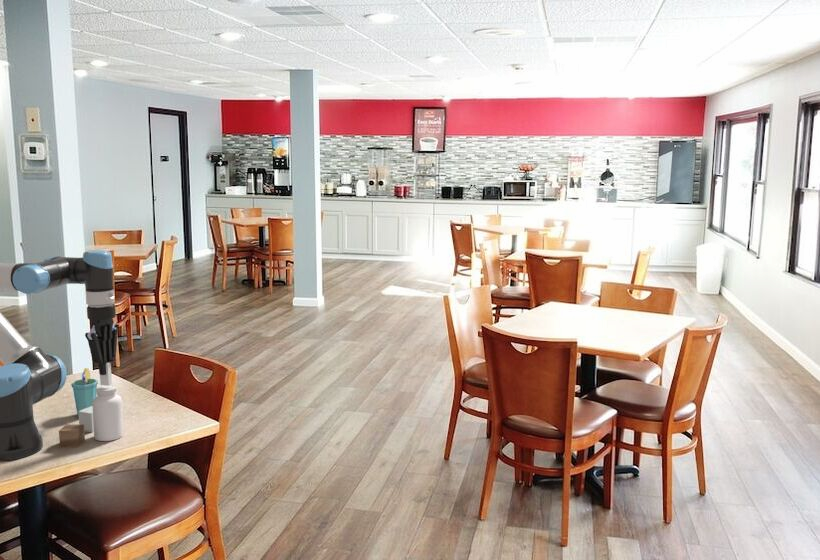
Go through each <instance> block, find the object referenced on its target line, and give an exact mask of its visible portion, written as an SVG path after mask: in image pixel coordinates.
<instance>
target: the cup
mask: <svg viewBox="0 0 820 560" xmlns="http://www.w3.org/2000/svg"><path fill="white" fill-rule="evenodd" d="M81 377H82V379H77V380H75V381H73V382H72V383H71V384H70V385H71V387H72V390H73V391H72V392H73V396H74V402H75V407H76V414H77V416H78V417H79V414H78V411H80V410H83V409H85V408H88V407H90V406H93V404H92V403H93V400H94V398H95V397H97V388H98V384H99V381H98V380H97V379H94V378H91V372H90V369H89V368H87V367H86V368H84V369H83V372H82V375H81Z"/></svg>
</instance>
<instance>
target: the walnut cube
mask: <svg viewBox="0 0 820 560" xmlns="http://www.w3.org/2000/svg"><path fill="white" fill-rule="evenodd" d="M58 436H59V437H58V438H59V448H80V446H81V445H82V444H83V443H84V442H85V441H86V439H85V436H86V435H85V431H84V424H77V423H75V424H73V423H72V424H71V423H70V424H65V425H64V426H62V427H61V428H60V429H59V430H58Z"/></svg>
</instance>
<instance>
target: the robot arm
mask: <svg viewBox="0 0 820 560" xmlns="http://www.w3.org/2000/svg"><path fill="white" fill-rule="evenodd" d="M112 255H113V254H112V253H111V251H109V250H106V249H105V250H104V249H98V250H97V249H95V250H94V249H93V250H86V251H83V254H82V257H70V256H67V257H66V256H54V257H53V256H51V257H47V258H45V259H44V261H41V262H33V263H32V262H26V263H25V262H23V263H21V262H19V263H18V262H16V263H15V262H13V263H11V262H0V292H13V291H14V292H20V293H22V294H25V295H27V294H28V295H30V294H39V293H41V292H43V291H46V290H49V289H53V288H57V287H60V286H61V287H62V286H64V285H73V284H74V285H78V284H79V285H84V286H85V287H84V288H85V303H86V305H87V307H86V316H87V319H88V320H90V331H89V332H86V333H84V336H85V339H86V340H87V342H88V347H89V352H90V355H91V360H92V363H93V364H98V373H99V381H100V382H99V384H100V386H105V385H107V386H109V385H112V384H113V379H112V363H113V362H115V360H116V359H115V358H116V356H117V347H118V346H117V345H118V344H117V343H118V334H119V333H118V332H119V329H120V324H117V323H114V318H116V317H117V311H116V305H115V302H116V299H115V297H116V296H115V286H114V263H113V257H112ZM0 362H1V363H2V364H3V365H0V462H3V461H5V462H6V461H12V460H13V461H14V460H17V459H22V458H25V457H29V456H32V455H34V454H35V453H37V452H39V451H40V450H41V449H43V447H44V443H43V442H44V441H43V437H42V435H41V434H40V432H39V430H38V426H37V425H36V422H35V418H34V405H35V404H37V403H39V402H41V401H43V400H45V399H47V398H50V397H52V396H54V395H55V394H56V393H57V392H59V391H61V390H62V388H63V387H64V386H65V384H66V381H67V367H66V365H65V363H64V362H63V361H62V359H61V358H59V357H58V356H57V355H55V354H54V355H51V354H46V353H45V352H44V351H43V350H42V349H41V347H39V346H34V345H33V346H32V345H31V344H30V343H28V342H27V341H26V339H25V337H23V336H22V335H21V333H19V331H18V330H17V329H16V328H15V327H14V326H13V325H12V323H11V322H10V321H9V320H8V318H6V317H5V316H4V315H3V313H2V312H1V311H0Z"/></svg>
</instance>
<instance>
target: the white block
mask: <svg viewBox="0 0 820 560" xmlns="http://www.w3.org/2000/svg"><path fill="white" fill-rule="evenodd" d="M78 414H79V416H78V423H79V424H84V432H87V433H92V434H94V423H93V406H90V407H88V408H85V409H83V410H80V411H78Z"/></svg>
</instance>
